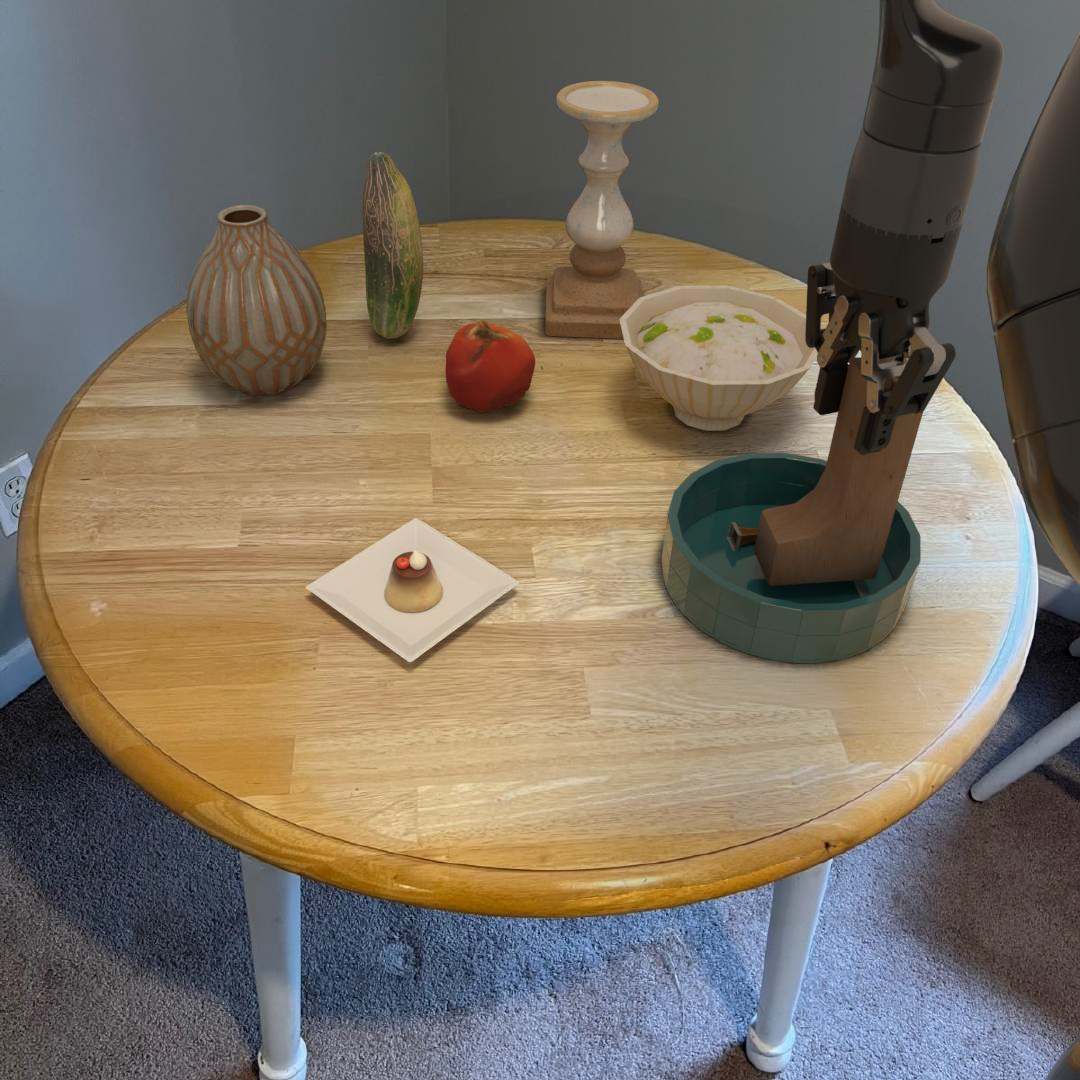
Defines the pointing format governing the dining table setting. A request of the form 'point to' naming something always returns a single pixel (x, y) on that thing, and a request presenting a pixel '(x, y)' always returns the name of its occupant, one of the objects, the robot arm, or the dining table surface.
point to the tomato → (488, 366)
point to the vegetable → (390, 248)
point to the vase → (255, 306)
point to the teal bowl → (739, 583)
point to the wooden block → (840, 502)
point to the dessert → (412, 588)
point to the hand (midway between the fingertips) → (847, 429)
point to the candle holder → (598, 215)
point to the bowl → (716, 351)
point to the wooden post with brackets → (740, 535)
